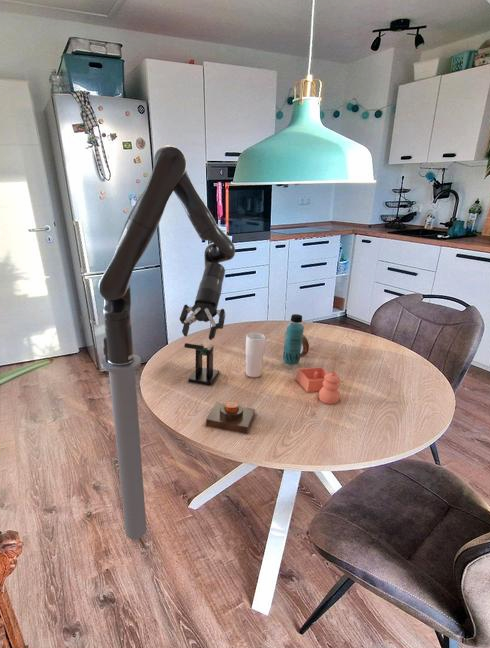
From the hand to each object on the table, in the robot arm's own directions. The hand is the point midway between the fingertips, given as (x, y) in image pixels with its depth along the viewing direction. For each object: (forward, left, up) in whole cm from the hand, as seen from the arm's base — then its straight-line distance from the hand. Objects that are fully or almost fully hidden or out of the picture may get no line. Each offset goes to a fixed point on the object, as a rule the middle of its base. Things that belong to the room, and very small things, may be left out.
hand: (197, 337), depth 123 cm
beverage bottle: (+28, +28, -18) cm, 44 cm away
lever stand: (0, +7, -18) cm, 19 cm away
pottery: (+40, +11, -18) cm, 45 cm away
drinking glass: (+16, +15, -18) cm, 29 cm away
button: (+16, -16, -14) cm, 27 cm away
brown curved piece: (+28, +42, -18) cm, 54 cm away
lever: (0, +2, -6) cm, 7 cm away
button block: (+16, -16, -18) cm, 29 cm away
